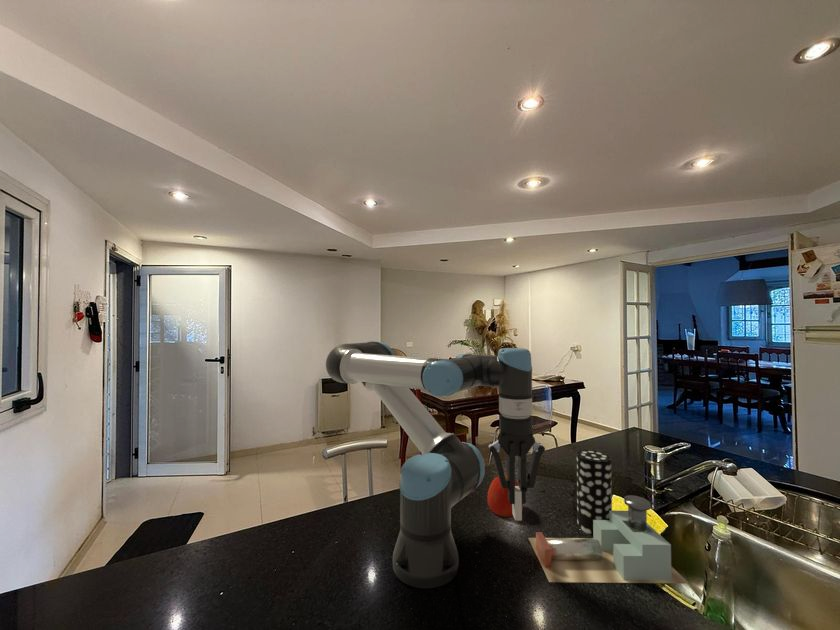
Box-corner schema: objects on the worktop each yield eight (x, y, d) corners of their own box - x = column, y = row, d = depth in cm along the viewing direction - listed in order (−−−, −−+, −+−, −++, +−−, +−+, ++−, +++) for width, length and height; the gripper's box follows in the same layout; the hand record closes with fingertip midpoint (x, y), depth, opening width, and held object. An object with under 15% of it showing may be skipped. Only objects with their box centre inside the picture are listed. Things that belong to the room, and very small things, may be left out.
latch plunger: (632, 532, 79) (632, 506, 79) (619, 519, 84) (619, 495, 84) (656, 533, 78) (655, 506, 79) (641, 519, 84) (641, 495, 84)
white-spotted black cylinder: (616, 542, 88) (616, 462, 89) (581, 538, 90) (580, 460, 90) (606, 523, 97) (605, 450, 97) (574, 520, 98) (573, 448, 99)
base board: (549, 586, 74) (549, 581, 74) (528, 541, 89) (528, 537, 89) (688, 587, 73) (688, 583, 73) (643, 542, 88) (643, 538, 88)
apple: (508, 500, 109) (508, 466, 109) (531, 517, 100) (531, 480, 100) (480, 507, 105) (480, 472, 105) (501, 526, 96) (501, 487, 96)
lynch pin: (545, 567, 78) (544, 549, 78) (536, 548, 85) (535, 532, 85) (605, 568, 78) (605, 549, 78) (592, 549, 84) (591, 532, 84)
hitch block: (623, 579, 74) (623, 544, 75) (593, 540, 88) (593, 510, 88) (671, 580, 74) (670, 544, 74) (633, 540, 88) (633, 510, 88)
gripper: (490, 419, 78) (492, 526, 78) (549, 419, 78) (551, 526, 78) (484, 410, 86) (486, 508, 85) (538, 410, 85) (540, 508, 85)
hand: (517, 517), depth 81 cm, fingers closed
